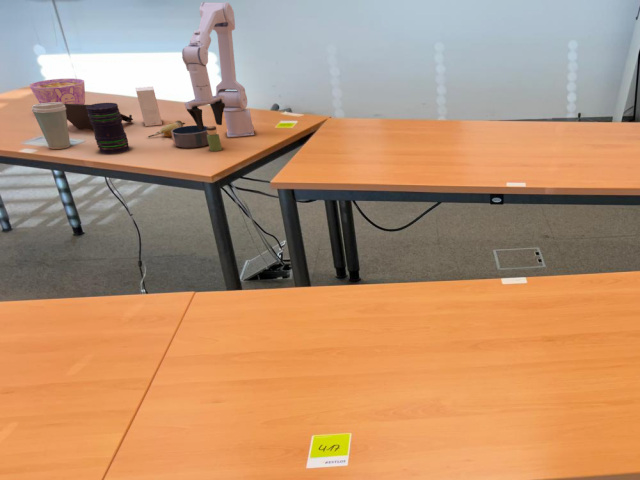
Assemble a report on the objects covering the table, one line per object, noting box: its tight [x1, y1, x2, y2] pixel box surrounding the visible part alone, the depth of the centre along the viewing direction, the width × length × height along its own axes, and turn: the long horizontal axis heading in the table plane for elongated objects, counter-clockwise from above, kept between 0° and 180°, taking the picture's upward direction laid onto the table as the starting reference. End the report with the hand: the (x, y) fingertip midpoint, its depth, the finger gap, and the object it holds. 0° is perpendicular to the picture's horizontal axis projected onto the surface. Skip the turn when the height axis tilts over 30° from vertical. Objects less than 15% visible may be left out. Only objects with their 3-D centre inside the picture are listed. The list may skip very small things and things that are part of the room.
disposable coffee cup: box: [30, 102, 71, 150], centre depth 254 cm, size 11×11×15 cm
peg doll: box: [206, 125, 223, 152], centre depth 253 cm, size 4×4×8 cm
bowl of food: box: [29, 78, 86, 105], centre depth 300 cm, size 20×20×12 cm
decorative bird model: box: [147, 120, 186, 140], centre depth 270 cm, size 4×13×10 cm
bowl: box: [171, 124, 209, 149], centre depth 261 cm, size 13×13×5 cm
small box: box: [135, 86, 163, 127], centre depth 284 cm, size 8×6×13 cm
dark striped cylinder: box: [86, 102, 131, 155], centre depth 251 cm, size 10×10×15 cm
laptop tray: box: [64, 104, 134, 131], centre depth 279 cm, size 23×23×9 cm
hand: (210, 126), depth 252 cm, fingers open, 7 cm apart
